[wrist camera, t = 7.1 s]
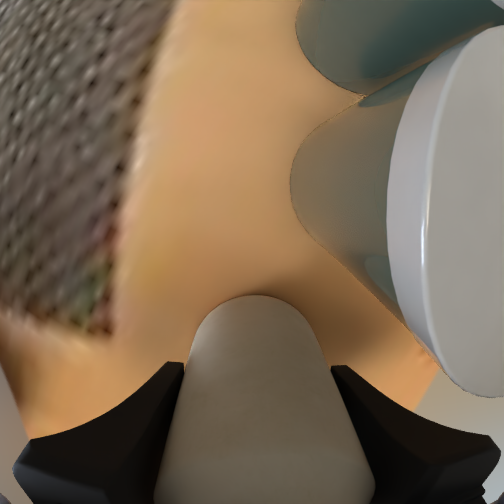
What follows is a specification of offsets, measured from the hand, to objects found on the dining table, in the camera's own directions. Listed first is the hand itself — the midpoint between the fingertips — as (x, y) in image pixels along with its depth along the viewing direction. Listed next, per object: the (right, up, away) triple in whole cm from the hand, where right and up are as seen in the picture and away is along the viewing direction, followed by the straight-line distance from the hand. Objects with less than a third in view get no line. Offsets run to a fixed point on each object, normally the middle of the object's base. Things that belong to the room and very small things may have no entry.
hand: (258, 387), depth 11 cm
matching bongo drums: (+4, +11, +1) cm, 12 cm away
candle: (0, +1, +3) cm, 3 cm away
